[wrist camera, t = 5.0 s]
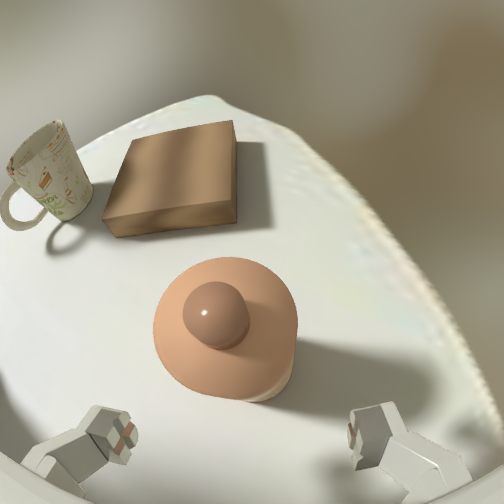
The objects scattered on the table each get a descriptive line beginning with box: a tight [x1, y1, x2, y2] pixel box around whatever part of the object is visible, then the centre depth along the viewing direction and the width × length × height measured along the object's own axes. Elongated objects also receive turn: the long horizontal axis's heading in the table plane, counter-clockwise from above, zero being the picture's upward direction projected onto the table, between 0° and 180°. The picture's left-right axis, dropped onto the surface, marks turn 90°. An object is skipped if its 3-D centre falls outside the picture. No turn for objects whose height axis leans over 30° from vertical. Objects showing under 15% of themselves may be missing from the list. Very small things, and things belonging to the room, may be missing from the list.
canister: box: [153, 257, 298, 402], centre depth 13 cm, size 5×5×11 cm
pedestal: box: [102, 120, 237, 238], centre depth 27 cm, size 12×12×3 cm
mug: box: [0, 120, 93, 231], centre depth 25 cm, size 8×13×10 cm, turn 142°
